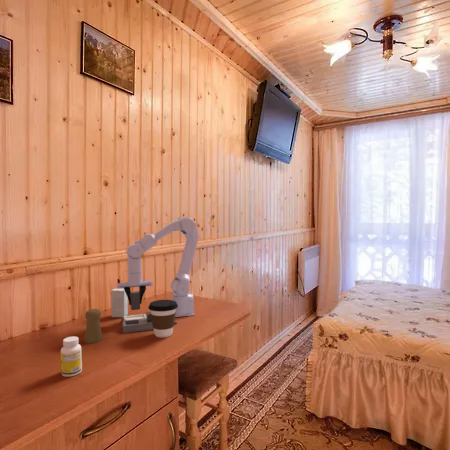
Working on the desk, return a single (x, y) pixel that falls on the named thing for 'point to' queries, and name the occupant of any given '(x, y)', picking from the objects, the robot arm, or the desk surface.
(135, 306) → the plug
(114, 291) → the skincare box
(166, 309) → the coffee cup
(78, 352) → the supplement bottle
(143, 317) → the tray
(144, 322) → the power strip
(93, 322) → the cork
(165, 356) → the desk surface
